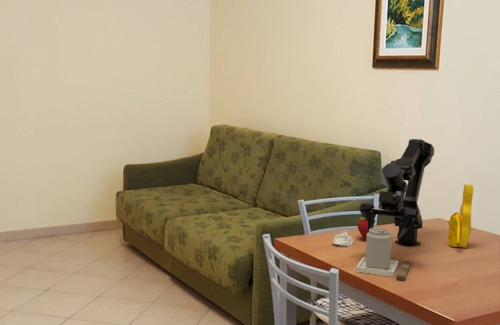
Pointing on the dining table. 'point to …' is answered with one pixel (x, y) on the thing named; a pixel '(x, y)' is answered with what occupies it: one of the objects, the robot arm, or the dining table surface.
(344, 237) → the whipped cream
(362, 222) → the strawberry
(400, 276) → the strip
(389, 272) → the tray
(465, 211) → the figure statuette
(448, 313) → the dining table surface
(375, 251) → the can
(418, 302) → the dining table surface
